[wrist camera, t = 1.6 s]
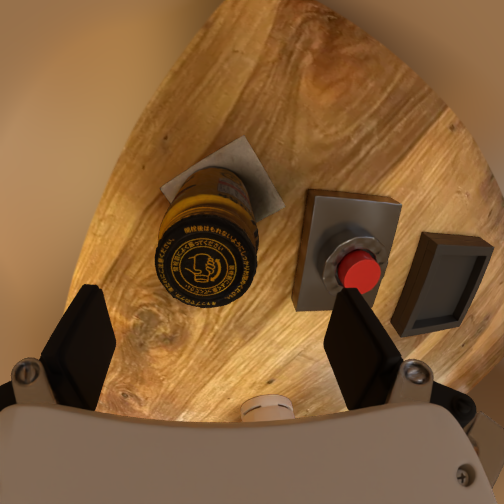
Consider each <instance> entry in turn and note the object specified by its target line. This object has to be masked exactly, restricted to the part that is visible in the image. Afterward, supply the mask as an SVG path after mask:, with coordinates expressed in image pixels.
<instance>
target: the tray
mask: <svg viewBox="0 0 504 504" xmlns="http://www.w3.org/2000/svg"><path fill="white" fill-rule="evenodd" d="M493 250H494V247H493V246H492V245H490V244H489V243H487V242H486V241H485V240H483V239H482V238H480V237H472V236H461V235H450V234H438V233H425V232H422V235H421V238H420V241H419V245H418V248H417V251H416V255H415V258H414V261H413V264H412V267H411V270H410V273H409V275H408V278H407V281H406V284H405V287H404V289H403V292H402V295H401V297H400V300H399V302H398V305H397V307H396V310H395V312H394V315H393V317H392V320H391V324H392V325H393V327H394V328H395V329H396V331H397V333H398V334H399V336H400V337H401V338H402V337H408V336H414V335H419V334H425V333H430V332H435V331H440V330H445V329H450V328H455V327H459V326H460V324H461V323H462V321H463V319H464V317H465V315H466V313H467V311H468V309H469V307H470V305H471V303H472V301H473V299H474V297H475V294H476V292H477V290H478V288H479V285H480V283H481V281H482V278H483V276H484V274H485V271H486V269H487V266H488V264H489V261H490V258H491V256H492V253H493Z"/></svg>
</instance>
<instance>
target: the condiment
mask: <svg viewBox="0 0 504 504" xmlns="http://www.w3.org/2000/svg"><path fill="white" fill-rule="evenodd" d="M160 190H161V191H162V192H163V194H164V195H165V197H166V198H167V199H168V201H169V202H170V204H171V205H170V207H169V208H168V210H167V212H166V213H165V216H164V218H163V220H162V222H161V225H160V229H159V235H158V247H157V248H156V254H155V267H156V272H157V276H158V278H159V280H160V282H161V283H162V285H163V286H164V287H165V288H166V290H167V291H168V292H169V293H170V294H171V295H172V297H173V298H176V299H178V300H180V301H181V302H183V303H185V304H187V305H192V306H196V307H200V308H212V307H219V306H224V305H227V304H229V303H231V302H233V301H235V300H236V299H238V298H240V297H241V296H242V295H243V294H244V293H245V292H246V291H247V290H248V288H249V287H250V285H251V283H252V281H253V277H254V276H255V274H256V268H257V251H258V246H259V235H258V229H257V226H256V223H257V222H258V221H260V220H262V219H264V218H265V217H267V216H269V215H271V214H273V213H275V212H277V211H279V210H280V209H282V208H284V207H286V206H285V205H284V203H283V201H282V199H281V197H280V196H279V194H278V192H277V190H276V189H275V187H274V185H273V183H272V181H271V180H270V178H269V177H268V175H267V173H266V171H265V170H264V168H263V166H262V164H261V163H260V161H259V159H258V158H257V156H256V154H255V153H254V151H253V149H252V148H251V146H250V144H249V143H248V141H247V139H246V138H245V136H244V135H243V136H241V137H240V138H238V139H236V140H234V141H233V142H231V143H229V144H228V145H226V146H224V147H223V148H221V149H219V150H218V151H216V152H214V153H213V154H211V155H209V156H208V157H206V158H204V159H203V160H201V161H200V162H198V163H196V164H195V165H193V166H192V167H190V168H189V169H187V170H186V171H184V172H183V173H181V174H180V175H178V176H176V177H175V178H174V179H172V180H171V181H169V182H168V183H166V184H165V185H163V186H162V187H161V188H160Z"/></svg>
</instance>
